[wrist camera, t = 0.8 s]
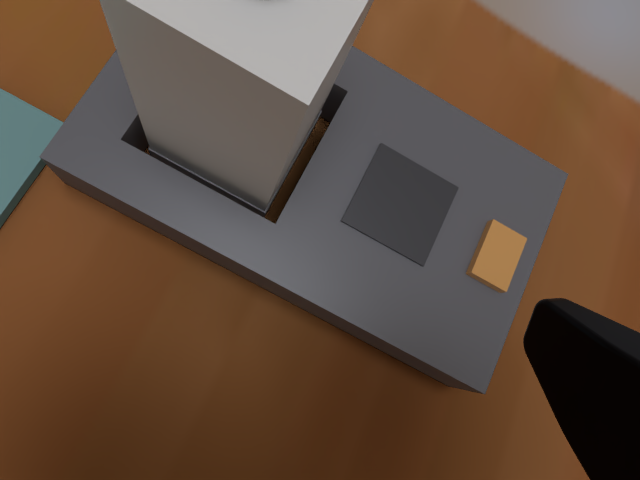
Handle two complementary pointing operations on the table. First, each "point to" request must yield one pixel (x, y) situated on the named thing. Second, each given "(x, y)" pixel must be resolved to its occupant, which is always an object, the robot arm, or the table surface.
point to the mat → (21, 148)
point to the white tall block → (232, 83)
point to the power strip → (352, 215)
